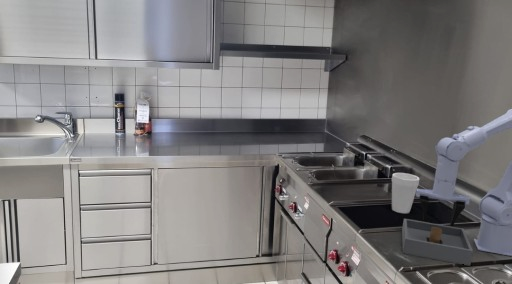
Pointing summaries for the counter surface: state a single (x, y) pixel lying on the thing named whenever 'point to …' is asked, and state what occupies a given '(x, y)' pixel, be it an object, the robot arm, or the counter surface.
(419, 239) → the box
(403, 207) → the foam cup
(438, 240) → the peg
